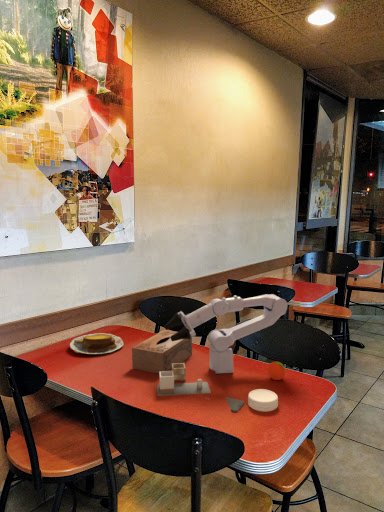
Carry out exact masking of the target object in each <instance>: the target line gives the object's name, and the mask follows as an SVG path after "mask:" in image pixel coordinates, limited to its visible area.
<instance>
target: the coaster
mask: <svg viewBox="0 0 384 512" xmlns="http://www.w3.org/2000/svg"><path fill="white" fill-rule="evenodd" d="M278 400H279V397H278V394H277V393H275V392H274V391H272V390H269V389H265V388H258V389H253V390H251V391H249V392H248V396H247V404H248V406H249V407H250V408H251V409H253V410H255V411H257V412H262V413H264V412H266V413H268V412H272V411H275V410H276V409H277V408H278V407H279V401H278Z"/></svg>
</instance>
